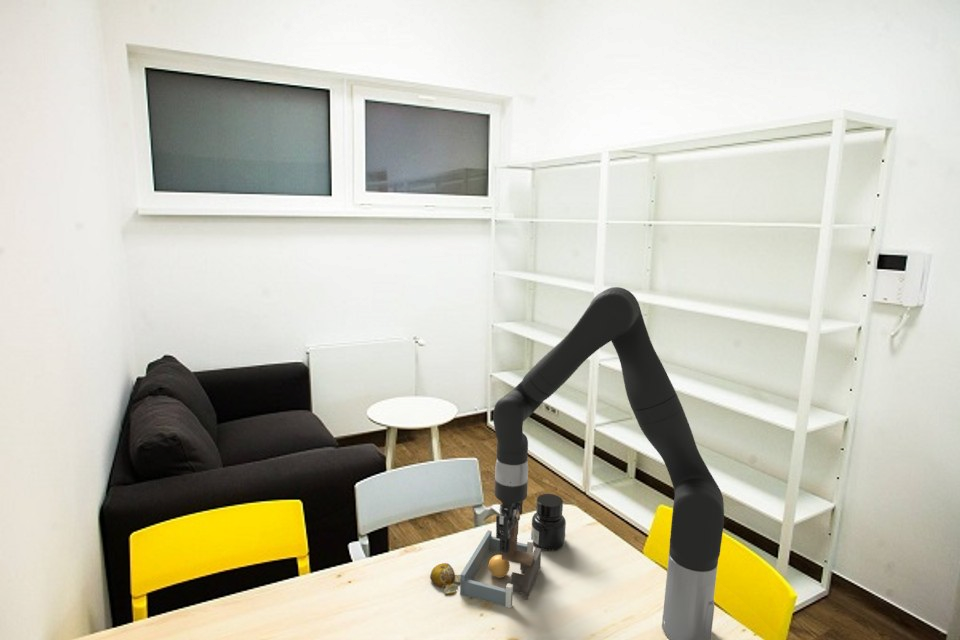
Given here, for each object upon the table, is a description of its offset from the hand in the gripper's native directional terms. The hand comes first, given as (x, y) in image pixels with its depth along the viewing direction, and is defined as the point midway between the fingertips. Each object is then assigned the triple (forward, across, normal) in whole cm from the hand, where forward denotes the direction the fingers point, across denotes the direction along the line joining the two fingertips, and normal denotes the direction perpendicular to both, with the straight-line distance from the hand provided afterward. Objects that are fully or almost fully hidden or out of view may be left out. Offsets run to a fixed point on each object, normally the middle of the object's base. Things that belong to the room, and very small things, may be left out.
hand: (509, 542), depth 127 cm
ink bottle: (+9, +18, -6) cm, 21 cm away
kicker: (+9, 0, -3) cm, 9 cm away
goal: (+9, 0, +2) cm, 9 cm away
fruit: (+10, -7, +12) cm, 17 cm away
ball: (+7, 0, +2) cm, 7 cm away
